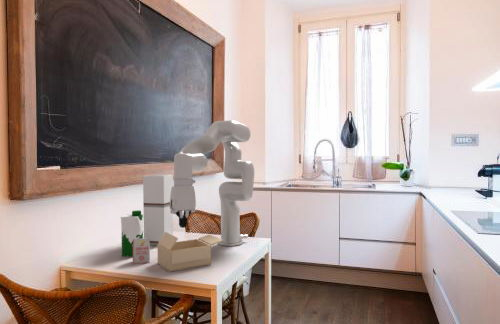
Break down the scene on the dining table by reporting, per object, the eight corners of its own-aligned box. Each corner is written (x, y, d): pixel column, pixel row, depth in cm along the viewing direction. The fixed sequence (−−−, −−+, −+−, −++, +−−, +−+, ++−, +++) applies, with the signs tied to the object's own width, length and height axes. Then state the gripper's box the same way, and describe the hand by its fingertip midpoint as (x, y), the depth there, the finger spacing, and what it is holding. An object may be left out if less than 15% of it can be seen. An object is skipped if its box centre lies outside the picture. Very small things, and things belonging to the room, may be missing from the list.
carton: (196, 256, 172) (196, 238, 172) (211, 264, 159) (211, 245, 159) (157, 262, 162) (156, 244, 162) (170, 272, 150) (169, 251, 149)
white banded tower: (173, 240, 203) (173, 174, 202) (164, 245, 193) (163, 175, 192) (154, 239, 206) (153, 174, 205) (143, 244, 196) (143, 175, 195)
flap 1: (159, 243, 162) (166, 232, 163) (170, 250, 151) (178, 238, 152) (157, 243, 161) (165, 232, 163) (168, 249, 150) (177, 237, 152)
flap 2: (198, 239, 171) (209, 235, 174) (211, 245, 160) (222, 241, 163) (198, 238, 171) (209, 234, 174) (211, 244, 160) (222, 239, 163)
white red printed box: (133, 261, 165) (133, 238, 165) (150, 260, 167) (149, 237, 167) (132, 263, 162) (132, 240, 162) (149, 262, 163) (149, 239, 163)
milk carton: (138, 257, 171) (137, 212, 171) (118, 256, 172) (118, 212, 172) (145, 252, 180) (145, 209, 180) (127, 251, 181) (126, 209, 181)
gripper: (196, 182, 167) (195, 224, 167) (162, 183, 159) (162, 227, 159) (203, 183, 161) (203, 226, 161) (169, 184, 153) (169, 230, 153)
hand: (183, 227), depth 160 cm, fingers closed
